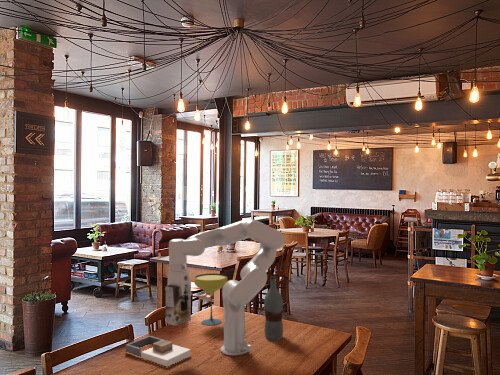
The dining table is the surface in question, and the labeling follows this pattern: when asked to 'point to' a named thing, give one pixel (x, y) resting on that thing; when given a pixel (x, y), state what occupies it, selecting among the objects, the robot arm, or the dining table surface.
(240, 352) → the robot arm
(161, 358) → the white flat block
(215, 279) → the cocktail glass
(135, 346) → the tray
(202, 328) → the dining table surface
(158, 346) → the tile
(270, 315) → the bottle
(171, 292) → the coffee box
